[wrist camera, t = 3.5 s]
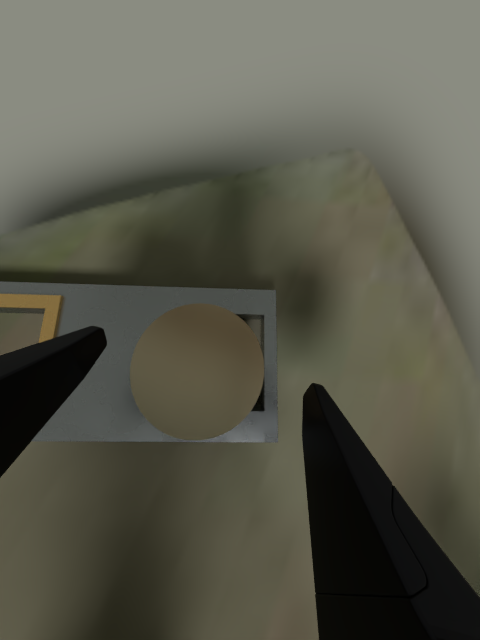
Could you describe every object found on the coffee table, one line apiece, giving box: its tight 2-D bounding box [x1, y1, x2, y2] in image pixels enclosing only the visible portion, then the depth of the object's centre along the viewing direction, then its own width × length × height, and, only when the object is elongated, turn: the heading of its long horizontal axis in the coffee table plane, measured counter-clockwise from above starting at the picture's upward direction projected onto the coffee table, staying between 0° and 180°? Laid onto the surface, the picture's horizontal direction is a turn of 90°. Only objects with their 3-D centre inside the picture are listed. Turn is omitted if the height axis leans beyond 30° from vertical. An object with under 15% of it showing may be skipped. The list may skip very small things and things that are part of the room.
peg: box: [130, 303, 264, 441], centre depth 11 cm, size 4×4×10 cm
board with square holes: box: [0, 282, 278, 442], centre depth 15 cm, size 25×11×2 cm, turn 89°
